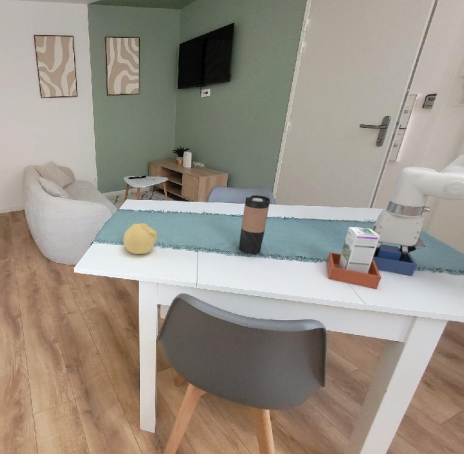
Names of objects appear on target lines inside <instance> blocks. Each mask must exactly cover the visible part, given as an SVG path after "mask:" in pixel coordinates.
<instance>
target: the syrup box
mask: <svg viewBox="0 0 464 454" xmlns="http://www.w3.org/2000/svg"><path fill="white" fill-rule="evenodd" d="M347 229H348V230H347V233H346V236H345V238H344V243H343V247H342V249H341V253H340V254H341V256H340V260H339V263H338V267H337V268H341V269H346V270H351V271H356V272H362V273H368V271H369V268H370V265H371V262H372V259H373V256H374V253H375V250H376V247H377V244H378V241H379V238H380V236H379V235H378V234H377V233H376V232H374V231H373V230H372V229H373V228H370V227H364V226H363V227H361V226H348V228H347Z"/></svg>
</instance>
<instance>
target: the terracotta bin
mask: <svg viewBox="0 0 464 454" xmlns="http://www.w3.org/2000/svg"><path fill="white" fill-rule="evenodd" d="M340 256H341V253H338V252H331V251H329V253H328V256H327V259H326V269H327V277H328V278H327V279H328V280H333V281H336V282H342V283H347V284H351V285H357V286H361V287H366V288H370V289H374V290H377V289H378V287H379V284H380V282H381V280H382V275H381V273H380V270H378V268H377V266H376V263H375V261H374V260H372V262H371V265H370V268H369V271H368V273H362V272H356V271H351V270H346V269H341V268H337V267H338V263H339V260H340Z"/></svg>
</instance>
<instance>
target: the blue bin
mask: <svg viewBox="0 0 464 454" xmlns="http://www.w3.org/2000/svg"><path fill="white" fill-rule="evenodd" d="M398 248H399V250H400V247H398ZM372 260H374V261H375V263H376V266H377V268H378V271H382V272H387V273H394V274H399V275H403V276H409V277H412V276H413V274H414V273H415V270H416V269H417V263H416V261H415V259H414V258H413V257H412V255H411V253H410V252H409V253H408V254H406V255H405V256H404V259H403V261H396V260H391V259H385V258H379V257H373V259H372Z"/></svg>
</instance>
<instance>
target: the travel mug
mask: <svg viewBox="0 0 464 454" xmlns="http://www.w3.org/2000/svg"><path fill="white" fill-rule="evenodd" d="M270 201H271V198H269V197H267V196H264V195H257V194H254V195H250V196H246V197H245V201H244V207H243V214H242V219H241V225H240V235H239V244H238V249H239V251H240V252H242V253H244V254H247V255H248V254H249V255H257V254H259V253H261V250H262V249H261V248H262V246H263V240H264V236H265V232H266V227H267V219H268V214H269V209H270V203H271V202H270Z"/></svg>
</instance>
